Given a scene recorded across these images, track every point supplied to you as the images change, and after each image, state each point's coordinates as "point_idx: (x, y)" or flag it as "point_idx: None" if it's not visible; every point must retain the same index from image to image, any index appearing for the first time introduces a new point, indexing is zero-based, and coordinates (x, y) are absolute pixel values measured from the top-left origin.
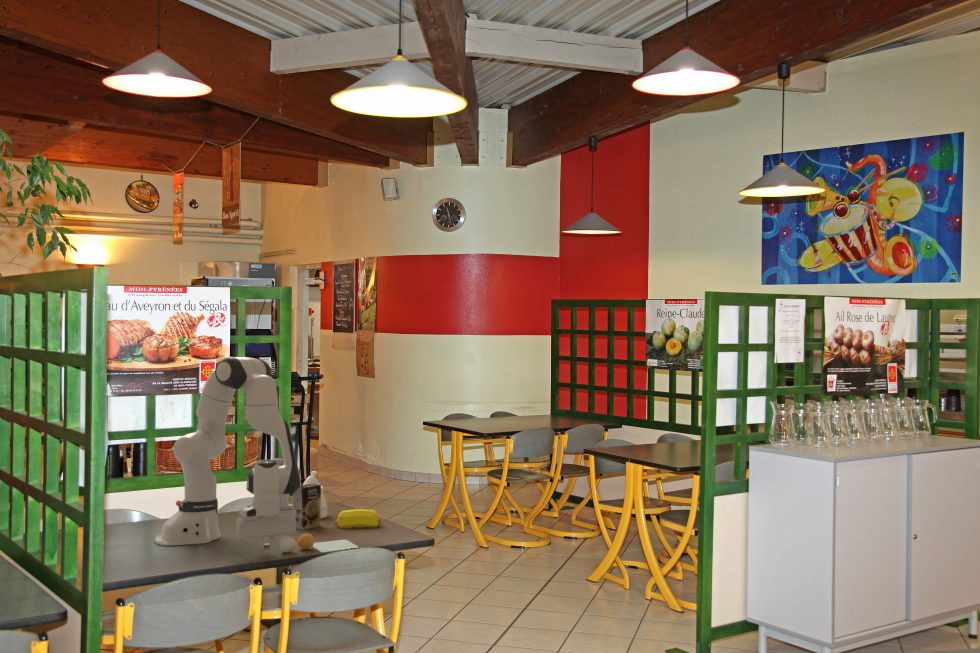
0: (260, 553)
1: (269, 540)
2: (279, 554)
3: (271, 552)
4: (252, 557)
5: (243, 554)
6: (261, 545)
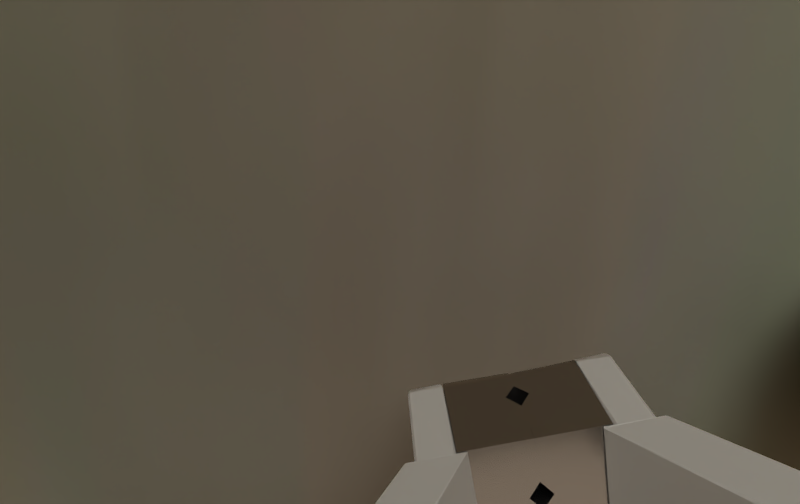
0: (391, 264)
1: (684, 490)
2: (710, 417)
3: (612, 242)
4: (240, 496)
5: (44, 255)
6: (416, 454)
